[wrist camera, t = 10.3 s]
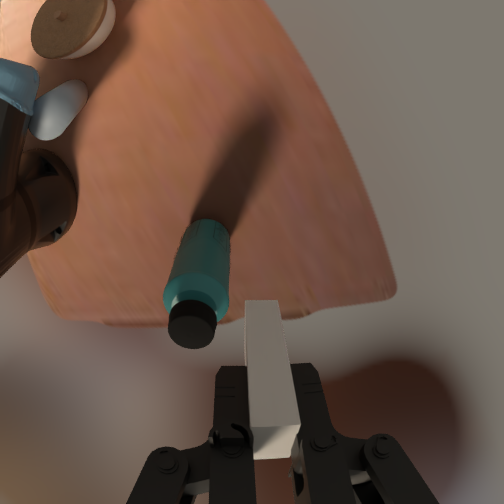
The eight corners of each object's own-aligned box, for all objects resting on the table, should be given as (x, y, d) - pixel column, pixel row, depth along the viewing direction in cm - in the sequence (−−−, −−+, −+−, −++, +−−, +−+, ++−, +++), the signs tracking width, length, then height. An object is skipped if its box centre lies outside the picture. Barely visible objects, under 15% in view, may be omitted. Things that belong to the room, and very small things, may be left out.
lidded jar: (78, -4, 22) (45, -22, 14) (139, 0, 25) (114, -25, 16) (50, 60, 27) (11, 55, 18) (108, 68, 29) (74, 60, 21)
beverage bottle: (179, 217, 39) (137, 307, 21) (227, 209, 39) (221, 297, 21) (190, 259, 42) (164, 363, 24) (235, 252, 42) (236, 358, 24)
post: (54, 112, 30) (25, 140, 22) (58, 79, 27) (29, 94, 19) (85, 113, 32) (66, 140, 24) (91, 79, 29) (72, 94, 21)
